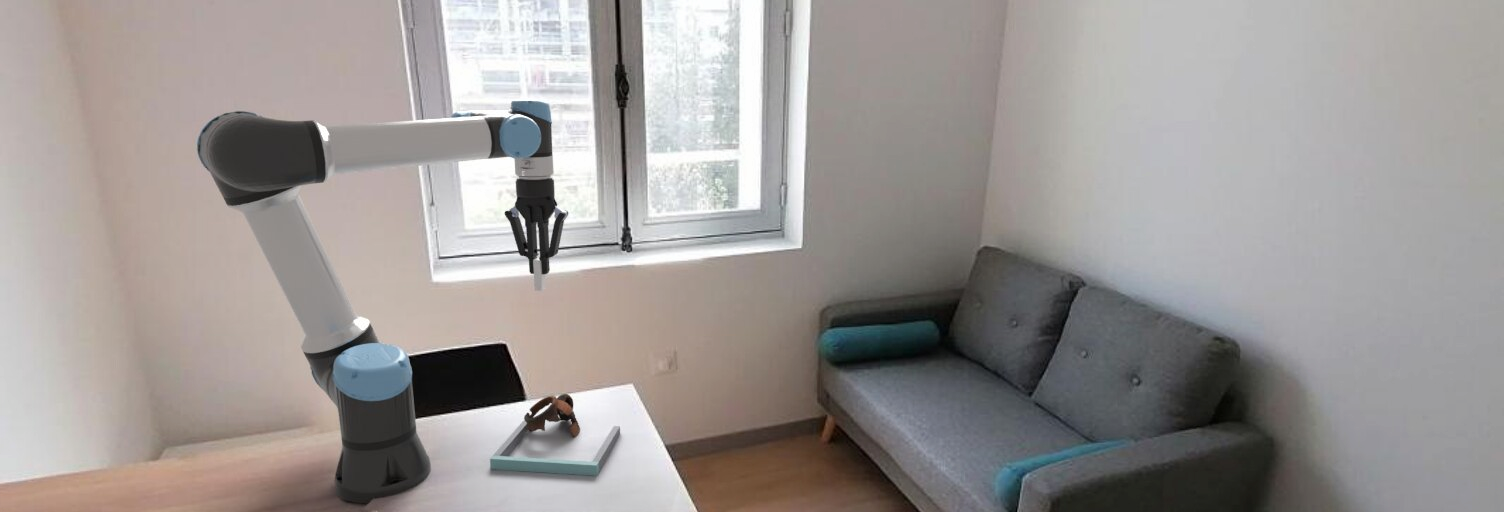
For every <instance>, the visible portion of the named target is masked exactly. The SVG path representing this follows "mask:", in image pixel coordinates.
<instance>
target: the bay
mask: <svg viewBox="0 0 1504 512" xmlns="http://www.w3.org/2000/svg"><path fill="white" fill-rule="evenodd" d="M527 432H529V431H528V430H527V422H526V421H525V420H523V421H522V422H521V423H520V424H519V425H518V426H517V427H516V429H514V431H513V432H512V433H511V434H510V435H509V436H508V437H507V439H505V441H504V442H503V443H502V444H501V445H500V447H499V448H498V449H497V450H496V451H495V452H494V454H493V455H492V456H491V457H490V458H489V463H490V470H498V471H500V470H502V471H513V472H514V471H515V472H517V471H518V472H531V473H546V474H549V473H551V474H560V475H561V474H564V475H578V476H579V475H580V476H594V477H597V476H598V475H599V473H600V472H601V470H602V468H603V466H604V465H605V463H606V462H607V459H608V457H609V456H610V454H611V453H612V450H613V448H614V446H615V444H616V442H617V440H618V438H619V437H620V434H621V426H620V425H613V427H612V428H611V430H610V432H609V433H608V435H607V436H606V438H605V439H604V441H603V443H602V445H601V447H600V448H599V449H598V451H597V453H596V455H594V458H593V459H592V461H586V460H585V461H584V460H569V459H555V458H553V459H552V458H537V457H536V458H535V457H524V456H523V457H522V456H521V457H520V456H510V455H511V454H512V452H513V451H514V450H515V449H516V448H517V446H518V445H519V444H520V442H521V441H522V439H523V438H524V436H525V435H526V434H527Z"/></svg>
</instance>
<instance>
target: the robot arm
mask: <svg viewBox="0 0 1504 512" xmlns="http://www.w3.org/2000/svg"><path fill="white" fill-rule="evenodd" d="M509 108H510V109H505V110H470V109H469V110H466V111H463V110H462V111H456V112H454V113H453V114H451V116H450V117H449V118H447V117H446V118H433V119H418V120H417V119H416V120H403V121H389V122H388V121H385V122H375V123H374V122H371V123H357V124H355V123H354V124H342V125H340V124H339V125H327V126H323V125H322V124H320V123H318V122H317V121H316V120H281V119H275V118H269V117H265V116H262V115H260V114H257V113H255V112H251V111H244V110H236V111H231V112H225V113H222V114H220V115H217V116H215V117H213V118H212V119H211V120H209V121H208V122H207V123H206V124H205V125H204V126H203V128H202V129H201V131H200V133H199V135H198V138H197V143H196V145H197V146H196V147H197V148H196V150H197V151H196V152H197V155H198V159H199V161H200V162H201V164H202V165H203V167H204V168H205V169H206V170H207V172H209V173H210V175H211V177H212V179H213V181H214V182H215V185H216V187H217V188H218V190H219V192H220V194H221V197H222V198H223V200H224V202H225V204H226V206H227V207H228V208H230V209H233V210H236V211H239V212H241V213H242V214H243V215H244V217H245V219H246V221H247V223H248V226H249V227H250V229H251V231H252V233H253V235H254V237H255V239H256V241H257V243H258V245H259V246H260V249H261V251H262V253H263V254H264V256H265V259H266V261H267V262H268V265H269V266H270V269H271V270H272V272H273V274H274V276H275V278H276V281H278V284H279V286H280V288H281V290H282V292H283V294H284V296H285V298H286V299H287V301H288V303H289V305H290V307H291V309H292V312H293V314H294V315H295V317H296V319H297V321H298V323H299V325H300V327H301V328H302V329H301V330H302V331H303V333H304V334H305V337H304V339H303V341H302V343H301V345H300V348H301V350H302V352H303V354H304V356H305V357H306V360H307V362H308V364H309V366H310V368H309V369H310V371H311V375H312V377H313V379H314V381H315V383H316V384H317V385H318V387H319V388H320V389H321V390H322V391H323V392H324V393H325V394H326V395H327V396H328V397H329V399H330V400H331V401H332V403H333V404H334V405H335V406H336V409H337V412H338V419H339V420H338V421H339V427H340V428H339V429H340V430H339V431H340V434H341V435H340V436H341V444H342V447H341V451H340V454H339V458H338V459H339V460H338V463H337V466H336V471H335V476H334V485H335V492H336V494H337V496H338V497H339V498H341V499H342V500H344V501H348V502H352V503H358V504H359V503H361V504H369V503H371V502H372V501H373V500H375V499H381V498H382V499H383V498H387V497H392V496H395V495H398V494H401V493H404V492H406V491H409V490H411V489H413V488H415V487H417V486H419V485H420V484H421V483H422V482H424V481H425V480H426V479H428V476H429V475H430V473H431V471H432V468H431V467H432V466H431V460H430V457H429V455H428V453H427V451H426V449H425V447H424V444H423V442H422V441H421V439H420V437H419V435H418V432H417V423H416V412H415V410H416V409H415V403H414V402H415V400H414V389H413V388H414V387H413V370H412V365H411V363H410V358H409V356H408V355H409V354H407V352H406V351H405V350H403V349H402V348H401V347H399V346H397V345H395V344H388V345H387V343H385V342H384V343H382V342H381V343H380V341H379V339H378V336H377V335H376V332H375V330H374V328H373V327H372V323H371V322H370V320H369V319H368V318H367V317H365V316H361V315H358V314H356V312H355V310H354V307H353V305H352V303H351V302H350V299H349V296H348V294H347V293H346V291H345V288H344V287H343V285H342V282H341V279H340V277H339V276H338V274H337V272H336V270H335V267H334V265H333V263H332V261H331V259H330V257H329V255H328V253H327V251H326V248H325V247H324V244H323V242H322V240H321V238H320V236H319V234H318V231H317V230H316V228H315V226H314V223H313V221H312V219H311V217H310V215H309V213H308V211H307V208H306V206H305V204H304V202H303V200H302V198H301V196H300V191H301V188H302V186H306V185H313V184H314V185H315V184H323V183H326V182H327V181H329V178H331V176H335V175H343V174H355V173H356V174H357V173H360V172H361V173H363V172H364V173H365V172H373V171H374V172H375V171H381V170H382V171H383V170H392V169H394V170H395V169H398V168H399V169H401V168H402V169H403V168H411V167H419V166H428V165H429V166H430V165H439V164H440V165H441V164H449V163H458V162H467V161H468V162H469V161H475V160H487V159H488V160H490V159H499V158H501V159H502V158H512V159H514V175H515V176H517V178H516V179H515V193H516V201H515V202H514V206H513V207H510V209H507V210H505V211H504V215H505V217H506V218H507V220H508V222H509V224H510V227H511V230H512V231H511V232H512V234H513V237H514V240H515V245H516V247H517V250H518V254H519V256H520V257H525V258H527V259H528V265H529V266H528V268H529V270H528V271H529V273H530V274H531V275H533V280H534V281H533V283H534V291H538V292H539V291H540V292H542V291H543V290H545V289H547V278H546V277H547V275H548V274H549V273H550V269H551V268H550V258H553V257H555V256H557V254H558V252H559V249H560V243H561V238H562V233H563V228H564V224H565V220H566V219H567V217H568V216H569V211H568V210H566V209H562V208H560V207H559V206H558V202H557V201H556V199H555V179H554V178H553V175H554V172H555V171H554V158H553V157H554V156H553V134H552V124H553V121H552V115H551V114H552V113H551V107H550V103H549V102H548V101H547V100H546V99H540V98H539V99H538V98H521V99H517V98H516V99H512V101H511V103H510V107H509ZM553 214H554V223H553V228H552V233H551V238H549V237H550V236H549V231H550V230H549V225H550V218H551V217H552V216H553ZM520 216H521V217H522V219H523V220H524V227H525V229H526V235H525V232H524V229H523V225H522V221H521V219H520ZM537 228H538V231H537ZM537 232H538V233H537ZM537 234H538V237H537ZM538 246H539V247H538ZM538 249H539V253H538Z"/></svg>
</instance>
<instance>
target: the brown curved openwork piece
mask: <svg viewBox="0 0 1504 512" xmlns="http://www.w3.org/2000/svg"><path fill="white" fill-rule="evenodd" d="M547 406H548V407H547ZM546 407H547V408H546ZM544 408H546V409H544ZM543 409H544V411H542V412H541V413H539V411H541V410H543ZM529 412H531V413H529ZM529 412H526V414H524V418H523V419H524V420H523V421H526V422H527V430H528V431H527V432H536V431H537V430H540V431H543V432H545V431H546V421H547V422H550V423H551V422H552V423H553V422H554V423H558V422H560V421H561V422H569V421H570V422H571V426H570V427H569V431H570V433H571V434H572V437H573V438H576V437H577V436H578V435H579V432H580V430H581V428H580V426H579V421H578V420H577V418H576V415H575V414H576V413H575V412H574V400H573V398H572V397H571V395H570V394H567V393H562V394H560V395H559V396H557V397H556V396H555V395H550V396H546V397H543V398H542V399H540V400H539V401H537V402H536V403H535V404H533V405H532V406H531V407H530V408H529ZM538 413H539V414H538ZM537 414H538V415H537Z"/></svg>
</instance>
